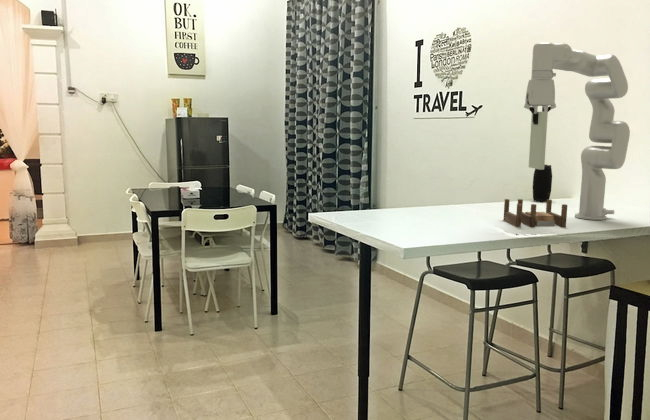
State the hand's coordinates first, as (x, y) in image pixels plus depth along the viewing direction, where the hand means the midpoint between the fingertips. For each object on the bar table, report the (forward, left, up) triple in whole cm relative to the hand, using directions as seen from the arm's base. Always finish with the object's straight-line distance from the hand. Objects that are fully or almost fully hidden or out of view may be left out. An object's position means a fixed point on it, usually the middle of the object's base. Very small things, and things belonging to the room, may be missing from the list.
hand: (538, 124), depth 219 cm
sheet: (0, 0, -17) cm, 17 cm away
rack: (0, 0, -41) cm, 41 cm away
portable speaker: (-33, -75, -41) cm, 92 cm away
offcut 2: (-3, 0, -40) cm, 40 cm away
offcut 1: (-3, 0, -38) cm, 38 cm away
